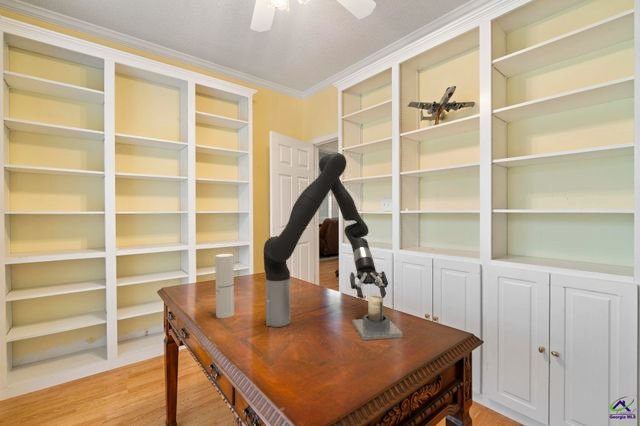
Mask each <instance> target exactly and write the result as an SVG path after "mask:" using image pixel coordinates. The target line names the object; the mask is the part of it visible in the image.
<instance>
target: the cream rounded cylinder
mask: <svg viewBox="0 0 640 426" xmlns="http://www.w3.org/2000/svg"><path fill="white" fill-rule="evenodd" d="M367 298H368V302H367V303H368V307H367V308H368V309H367V310H368V313H367V314H368V320H371V321H375V322H379V321H383V315H384V298H382V296H378V295H371V296H368V297H367Z"/></svg>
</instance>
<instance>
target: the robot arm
mask: <svg viewBox="0 0 640 426" xmlns="http://www.w3.org/2000/svg"><path fill="white" fill-rule="evenodd" d="M346 167H347V159H346V156H345V155H344V154H342V153H340V152H333V153H329V154H326V155H324V156H322V157H320V160H319V162H318V169H319V170H320V174H319V175H318V176H317V178H316V179H315V180H314V181H312V182H311V183H310V184H309V185H307V186H306V188H305V189H304V190H303V191H302V192H301V193H300V194H299V196H298V197H297V199H296V201H295V203H294V204H293V205H292V208H291V212H290V216H289V219H288V222H287V224H286V226H285V227H284V229H283V230H282V232H281V233H280V234H279V235H278V236H271V237H269V238H268V239H267V240H266V241H265V243H264V245H263V266H264V267H263V268H264V273H265V295H266V297H265V298H266V299H265V322H266V323H265V325H266V327H272V328H279V327H280V328H281V327H285V326H287V325H289V324H290V323H291V271H290V269H289V267H288V264H287V261H288V260H289V259H290V258H291V256H292V255H293V253H294V251H295V249H296V247H297V245H298V244H299V242H300V239H301V237H302V235H303V233H304V231H305V230H306V229H307V227H308V226H309V224H310V223H311V221H312V220H313V218H314V217H315V215H316V214H317V212H318V211H319V209H320V207H321V205H322V203H323V202H324V200H326V197H327V196H328V194H329V192H330V191H331V192H332V194H333V196H334V199H335V201H336V203H337V206H338V208H339V211H340V214H341V216H342V218H343V220H344V221H346V222H350V221H352V222H353V221H354V223H351V224H347V225H346V226H345V228H344V231H343V232H344V235H345V237H346V239H347V240H348V241H349V243H350V245H351V249H352V253H353V262H354V265H355V270H356V273H354V272H350V275H349V282H350V288H351V289H352V290H354V289H355V290H356V292H357V297H358V298H359V299H360V300H361V299H363V298H364V296H363V295H364V294H363V290H362V286H363V284H364V285H374V286H375V287H377V288H379V292H380V297H382V298H383V299H384V298H385V297H386V295H387V291H386V289H385V288H387V287H388V285H389V281H388V279H387V275H386V273H385V271H381V272H377V270H376V266H375V262H374V258H373V255H372V251H370V250H371V249H370V246H369V243H368V240H367V239H366V238H364V237H366V236H368V234H369V227H368V225H367V224H366V222H365V221H364V219H363V218H362V216H361V215H360V214H359V212H358V208H357V206H356V203H355V200H354V199H353V197H352V196H351V194H350V192H349V191H348V190H347V189H346V187H345V186H344V185H343V183H342V180H341V179H340V177H341V176H342V175H343V173H344V172H345V170H346ZM356 279H358V283H357V284H356Z"/></svg>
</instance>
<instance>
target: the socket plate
mask: <svg viewBox="0 0 640 426" xmlns="http://www.w3.org/2000/svg"><path fill="white" fill-rule="evenodd" d="M351 322H352V325H353V327H354V328H355V331H357V333H358V335H359V336H360V337H361V340H362V341H372V340H373V341H374V340H383V339H385V340H386V339H396V338H397V339H398V338H403V337H404V335H403V332H402V330H400V329H399V328H398V327H397V326H396V324H395V323H394V322H392V321H391V319H390V318H389V317H388V316H387V315H386V314H383V321H379V322H375V321H371V320H368V313H366V314H365V315H364V316H362V318H361V319H360V318H359V319H352V321H351Z"/></svg>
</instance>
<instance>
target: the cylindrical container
mask: <svg viewBox="0 0 640 426" xmlns="http://www.w3.org/2000/svg"><path fill="white" fill-rule="evenodd" d="M214 262H215V264H214V265H215V271H214V272H215V316H216V318H218V319H226V318H227V319H228V318H230V317H232V316H234V315H235V290H234V289H235V287H234V286H235V285H234V282H235V281H234V276H235V275H234V254H232V253H220V254H215V256H214Z"/></svg>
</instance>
